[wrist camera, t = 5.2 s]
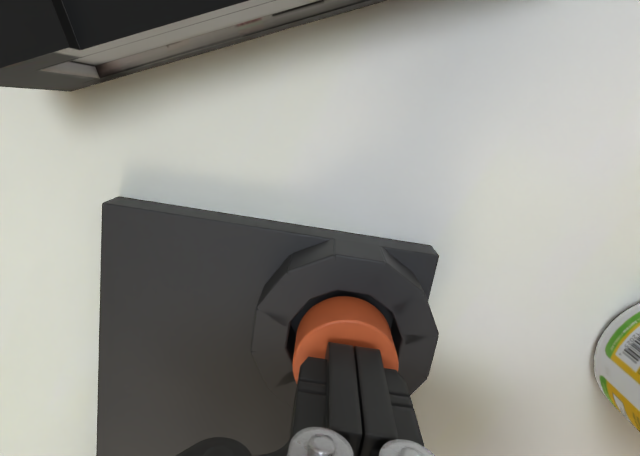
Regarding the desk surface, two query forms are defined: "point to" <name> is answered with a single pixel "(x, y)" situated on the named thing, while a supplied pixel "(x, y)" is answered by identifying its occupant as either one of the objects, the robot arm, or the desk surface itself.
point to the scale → (232, 320)
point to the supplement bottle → (621, 364)
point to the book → (133, 34)
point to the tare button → (343, 330)
